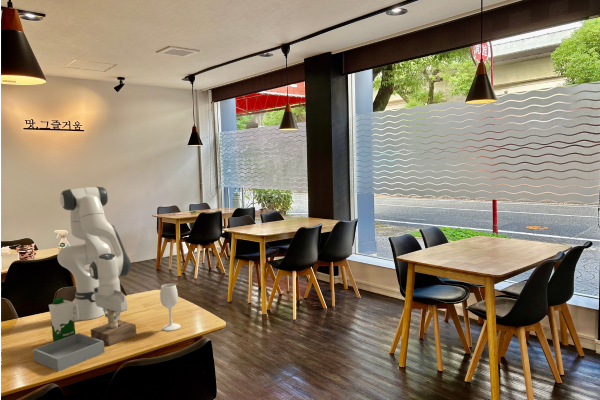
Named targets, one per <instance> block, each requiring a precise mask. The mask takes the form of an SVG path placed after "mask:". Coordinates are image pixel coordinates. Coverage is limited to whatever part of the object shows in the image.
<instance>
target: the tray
mask: <svg viewBox="0 0 600 400" xmlns="http://www.w3.org/2000/svg"><path fill="white" fill-rule="evenodd" d="M32 352H33V361H34V362H36V363H39V364H41V365H43V366H45V367H47V368H50V369H53V370H54V371H56V372H61V371H63V369H64V370H66V369H68V368H70V366H71V367H73V366H75V364H76V365H78V364H81V363H83V362H85V361H87V359H88V360H90V359H92V358H94V357H95V358H96V357H97V356H99V355H101V354H104V353H105V344H104V341H102V340H99V339H96V338H93V337H91V335H90V336H89V335H86V334H82V333H81V332H80V333H79V332H78V333H76V334H74V335H72V336H69V337H66V338H63V339H60V340H58V341H55V342H53V341H52V342H50V343H46V344H44V345H41V346H39V347H35V348H33V350H32Z"/></svg>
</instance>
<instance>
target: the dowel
mask: <svg viewBox="0 0 600 400" xmlns="http://www.w3.org/2000/svg"><path fill="white" fill-rule="evenodd" d="M115 314H116V313H115V311H113V310H110V309H107V315H108V317H107V323H108V326H109V329H111V330H112V329H115V328H117V327H118V321H117V320H115V319H114V316H115Z"/></svg>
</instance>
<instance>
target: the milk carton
mask: <svg viewBox="0 0 600 400" xmlns="http://www.w3.org/2000/svg"><path fill="white" fill-rule="evenodd" d="M73 306H74V302H72V301H71V300H66V299H64V297H62V296H59V297H55V298H53V303H51V304H48V308H49V314H50V322H51V332H52V342H55V341H58V340H60V339H63V338H66V337H69V336H72V335H74V334H77V333H76V329H75V328H76V326H75V321H74V314H73Z"/></svg>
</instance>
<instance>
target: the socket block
mask: <svg viewBox="0 0 600 400" xmlns="http://www.w3.org/2000/svg"><path fill="white" fill-rule="evenodd" d="M117 321H118V327H117V328H115V329H112V330H111V329H109V326H108V322H107V323H105V324H102V325H99V326H96V327H93V328H90V337H93V338H96V339H99V340H102V341H104V345H106V346H112V345H114V344H117V343H120V342H122V341H124V340H127V339H129V338H132V337H134V336H136V335H137V326H136V325H137V324H135V323H131V322H130V321H124V320H120V319H119V320H117Z"/></svg>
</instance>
